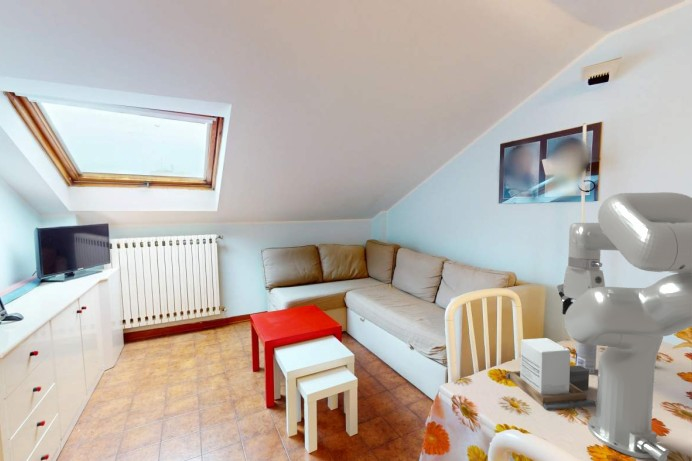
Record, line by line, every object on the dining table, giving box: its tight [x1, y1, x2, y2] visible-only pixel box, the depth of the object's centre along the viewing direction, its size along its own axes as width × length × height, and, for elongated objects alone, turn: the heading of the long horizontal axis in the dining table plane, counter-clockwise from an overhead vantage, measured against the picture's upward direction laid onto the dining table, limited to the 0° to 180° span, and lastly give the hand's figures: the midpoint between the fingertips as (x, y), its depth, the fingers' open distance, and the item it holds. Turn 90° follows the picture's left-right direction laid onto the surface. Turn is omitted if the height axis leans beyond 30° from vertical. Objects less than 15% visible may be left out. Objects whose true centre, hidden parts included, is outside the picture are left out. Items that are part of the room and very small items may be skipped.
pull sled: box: [509, 365, 590, 407], centre depth 91 cm, size 14×20×6 cm
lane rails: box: [505, 372, 597, 411], centre depth 90 cm, size 17×15×2 cm
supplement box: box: [519, 337, 571, 396], centre depth 89 cm, size 9×9×15 cm
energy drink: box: [574, 341, 598, 375], centre depth 102 cm, size 5×5×12 cm
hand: (581, 319), depth 92 cm, fingers open, 9 cm apart
